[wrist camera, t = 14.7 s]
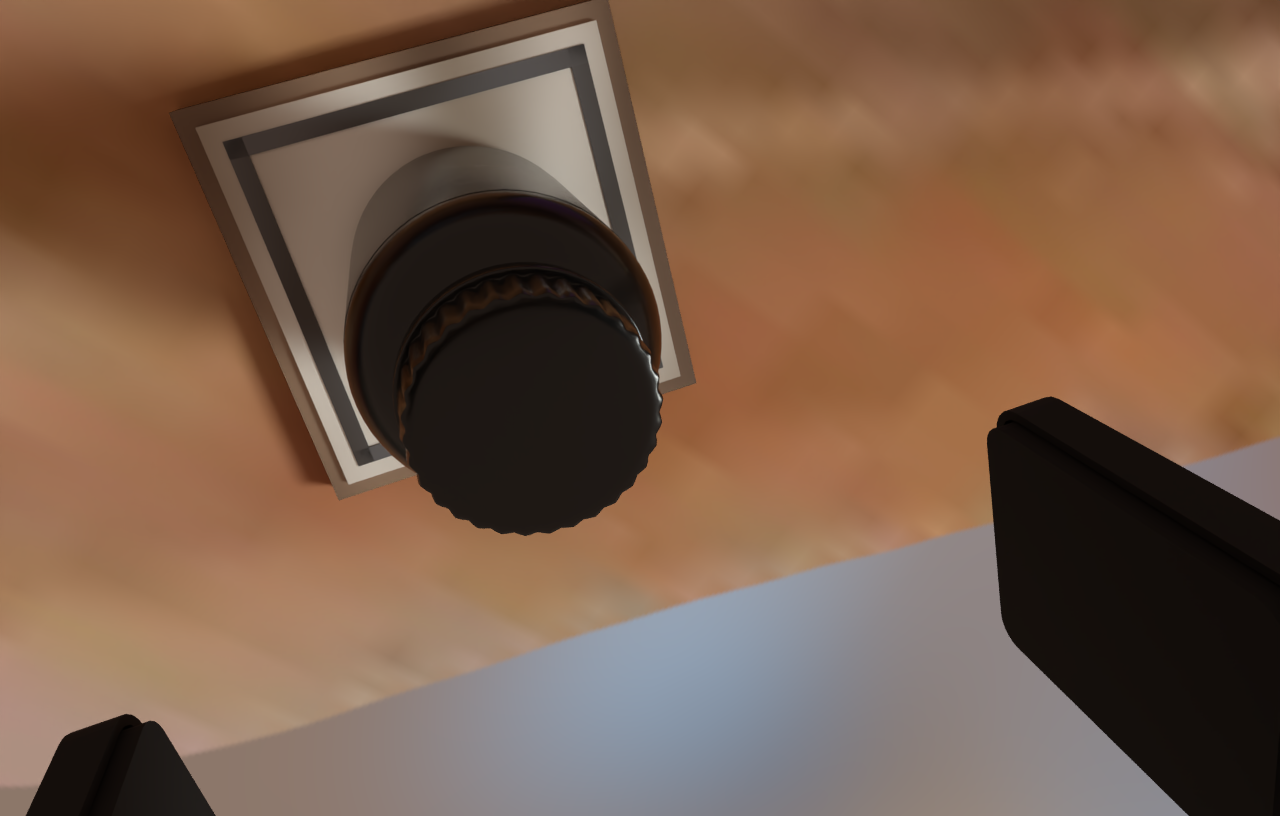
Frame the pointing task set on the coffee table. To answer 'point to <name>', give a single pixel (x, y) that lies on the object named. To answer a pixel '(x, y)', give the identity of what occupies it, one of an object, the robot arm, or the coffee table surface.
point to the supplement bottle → (502, 341)
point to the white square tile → (380, 145)
